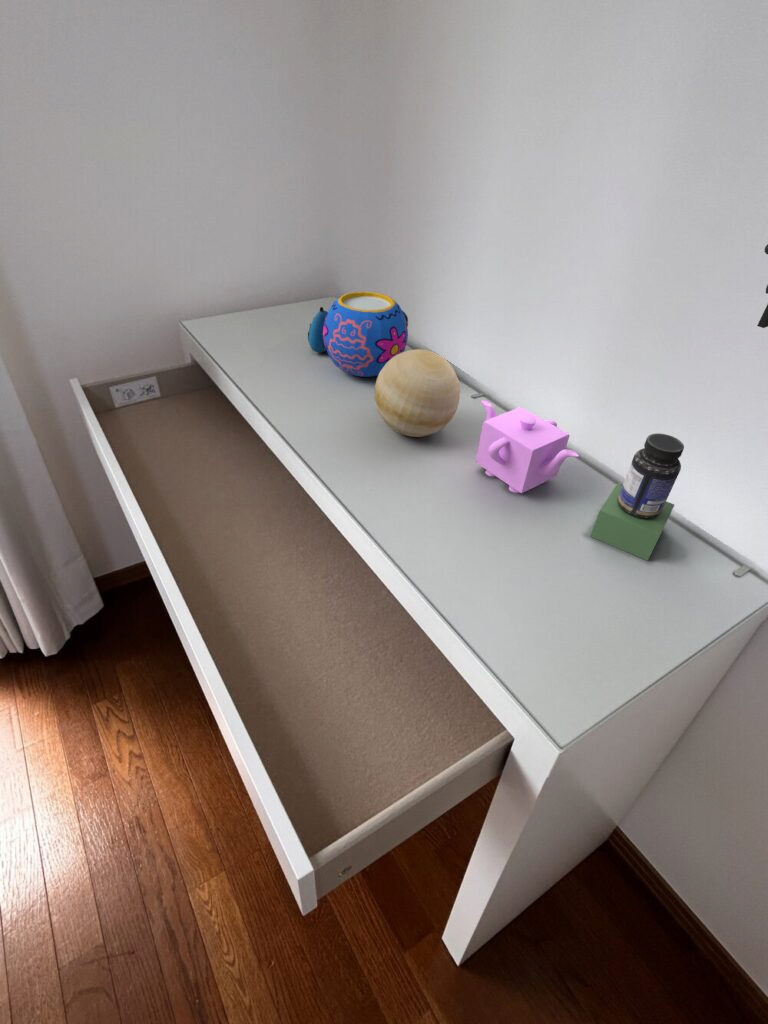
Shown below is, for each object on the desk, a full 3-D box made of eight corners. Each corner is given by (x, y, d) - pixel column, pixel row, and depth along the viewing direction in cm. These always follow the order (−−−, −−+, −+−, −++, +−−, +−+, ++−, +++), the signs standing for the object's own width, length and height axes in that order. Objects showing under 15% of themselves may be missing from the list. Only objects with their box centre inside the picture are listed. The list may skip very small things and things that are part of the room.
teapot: (465, 491, 91) (476, 432, 84) (472, 447, 101) (482, 392, 95) (561, 507, 89) (581, 449, 82) (558, 461, 100) (575, 406, 93)
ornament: (322, 342, 133) (322, 299, 127) (339, 347, 131) (340, 303, 125) (302, 354, 127) (301, 310, 121) (320, 359, 126) (319, 315, 119)
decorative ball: (402, 402, 113) (409, 328, 103) (468, 428, 106) (482, 352, 97) (355, 432, 103) (358, 353, 93) (425, 463, 97) (435, 382, 87)
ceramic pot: (416, 364, 127) (423, 296, 117) (384, 397, 114) (389, 323, 104) (346, 347, 132) (347, 280, 122) (308, 377, 119) (306, 305, 109)
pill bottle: (664, 504, 83) (694, 440, 76) (655, 526, 79) (686, 460, 72) (621, 489, 85) (647, 425, 78) (610, 509, 81) (637, 444, 74)
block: (662, 530, 86) (674, 504, 83) (647, 560, 81) (660, 534, 78) (607, 508, 90) (617, 482, 87) (589, 536, 84) (599, 510, 81)
